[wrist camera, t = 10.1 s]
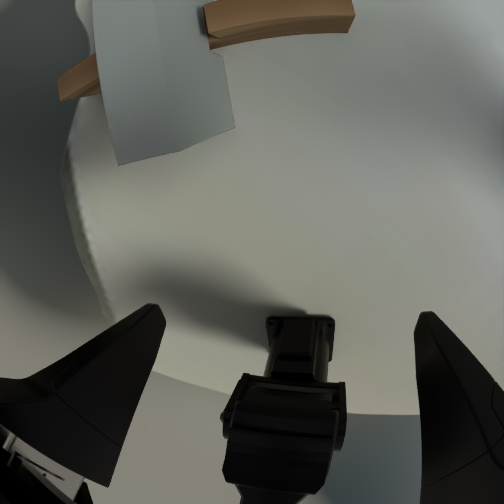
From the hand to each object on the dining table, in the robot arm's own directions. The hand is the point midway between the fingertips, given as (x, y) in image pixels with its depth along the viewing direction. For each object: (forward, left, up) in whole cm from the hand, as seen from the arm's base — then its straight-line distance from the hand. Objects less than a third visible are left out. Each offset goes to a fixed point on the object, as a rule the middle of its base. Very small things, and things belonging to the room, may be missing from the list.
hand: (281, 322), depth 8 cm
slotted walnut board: (+12, +6, -12) cm, 18 cm away
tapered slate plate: (+12, +6, -12) cm, 18 cm away
